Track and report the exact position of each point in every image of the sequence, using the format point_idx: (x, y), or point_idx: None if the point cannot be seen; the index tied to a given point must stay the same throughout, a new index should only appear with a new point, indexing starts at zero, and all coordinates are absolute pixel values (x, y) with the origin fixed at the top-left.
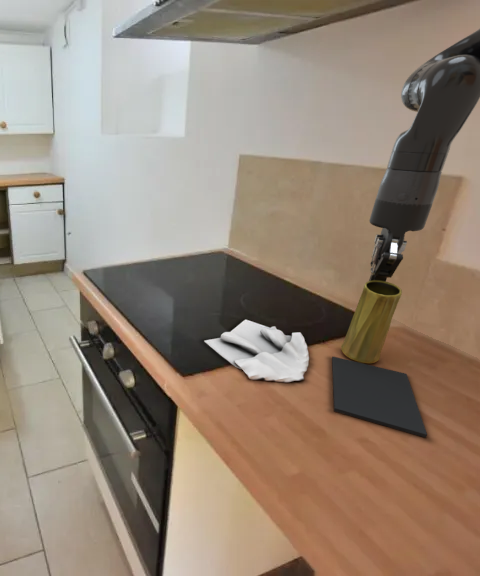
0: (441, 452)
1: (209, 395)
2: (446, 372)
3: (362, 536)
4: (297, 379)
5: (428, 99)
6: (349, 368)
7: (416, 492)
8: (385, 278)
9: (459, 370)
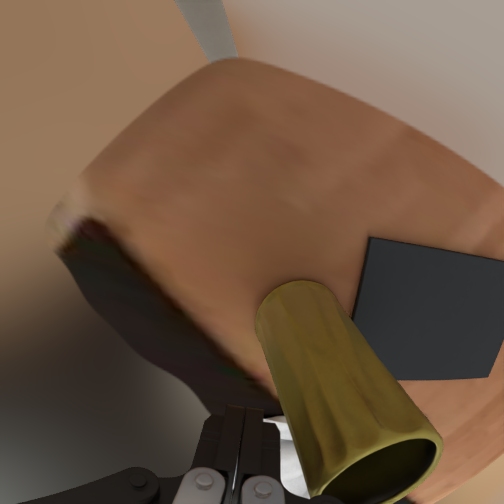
0: None
1: (451, 480)
2: (310, 129)
3: None
4: None
5: None
6: (382, 353)
7: None
8: (259, 475)
9: (285, 95)
